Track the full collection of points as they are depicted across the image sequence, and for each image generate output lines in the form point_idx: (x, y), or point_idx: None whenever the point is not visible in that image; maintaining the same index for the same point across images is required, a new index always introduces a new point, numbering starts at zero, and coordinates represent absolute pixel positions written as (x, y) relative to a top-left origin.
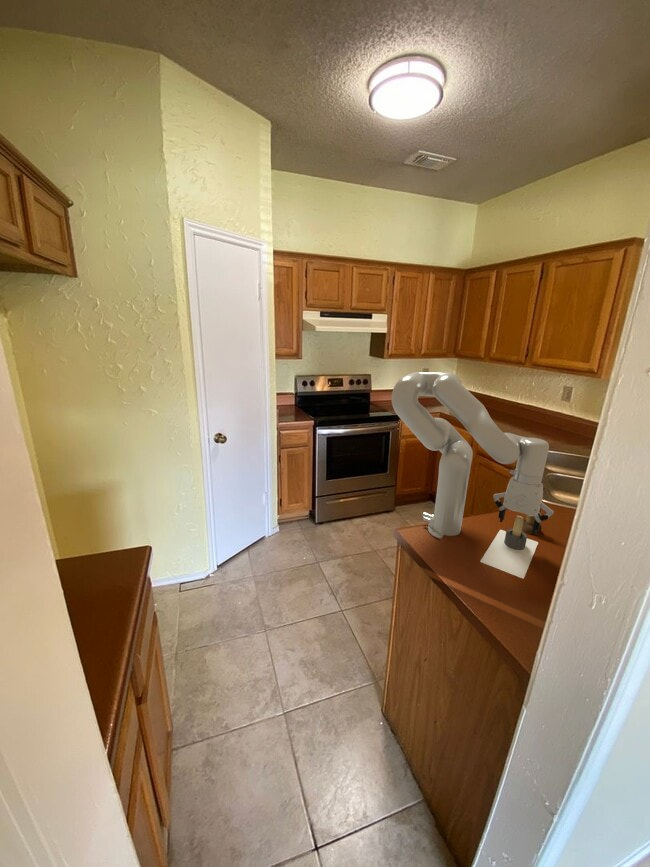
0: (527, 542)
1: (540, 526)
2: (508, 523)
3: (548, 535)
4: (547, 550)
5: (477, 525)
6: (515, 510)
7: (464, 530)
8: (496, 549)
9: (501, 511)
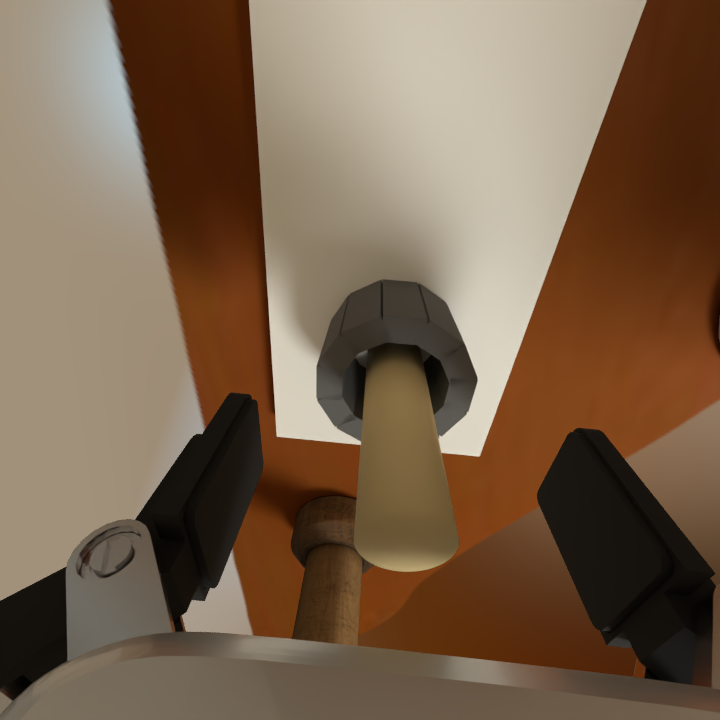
0: None
1: (295, 550)
2: None
3: (265, 515)
4: None
5: None
6: (581, 707)
7: (698, 365)
8: (516, 190)
9: (712, 572)
